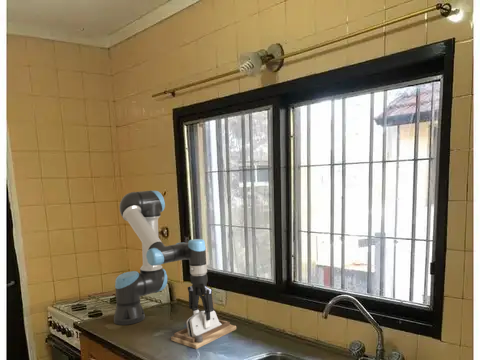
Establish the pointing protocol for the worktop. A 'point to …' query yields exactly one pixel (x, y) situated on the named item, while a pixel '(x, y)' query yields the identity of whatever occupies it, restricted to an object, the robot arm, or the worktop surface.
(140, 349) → the worktop surface
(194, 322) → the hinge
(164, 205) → the robot arm
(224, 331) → the wooden tray
